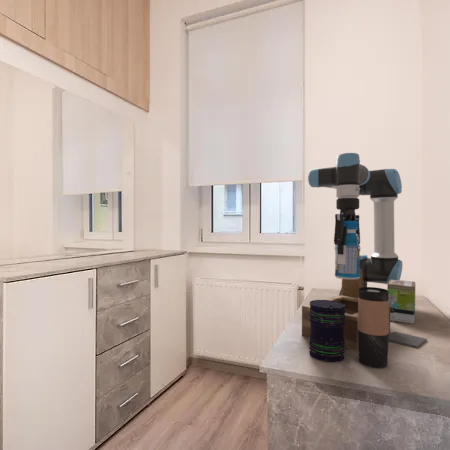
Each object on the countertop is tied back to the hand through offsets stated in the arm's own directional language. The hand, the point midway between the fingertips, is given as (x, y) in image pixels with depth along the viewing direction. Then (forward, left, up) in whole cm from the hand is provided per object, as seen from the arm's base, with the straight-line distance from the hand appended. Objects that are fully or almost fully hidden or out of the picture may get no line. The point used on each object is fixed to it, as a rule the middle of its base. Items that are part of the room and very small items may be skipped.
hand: (347, 263), depth 111 cm
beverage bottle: (0, 0, -5) cm, 5 cm away
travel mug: (+18, +16, -25) cm, 35 cm away
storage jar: (+23, +5, -25) cm, 34 cm away
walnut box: (0, 0, -25) cm, 25 cm away
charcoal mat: (-8, +16, -25) cm, 30 cm away
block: (-22, -8, -25) cm, 34 cm away
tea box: (-36, +6, -25) cm, 44 cm away
